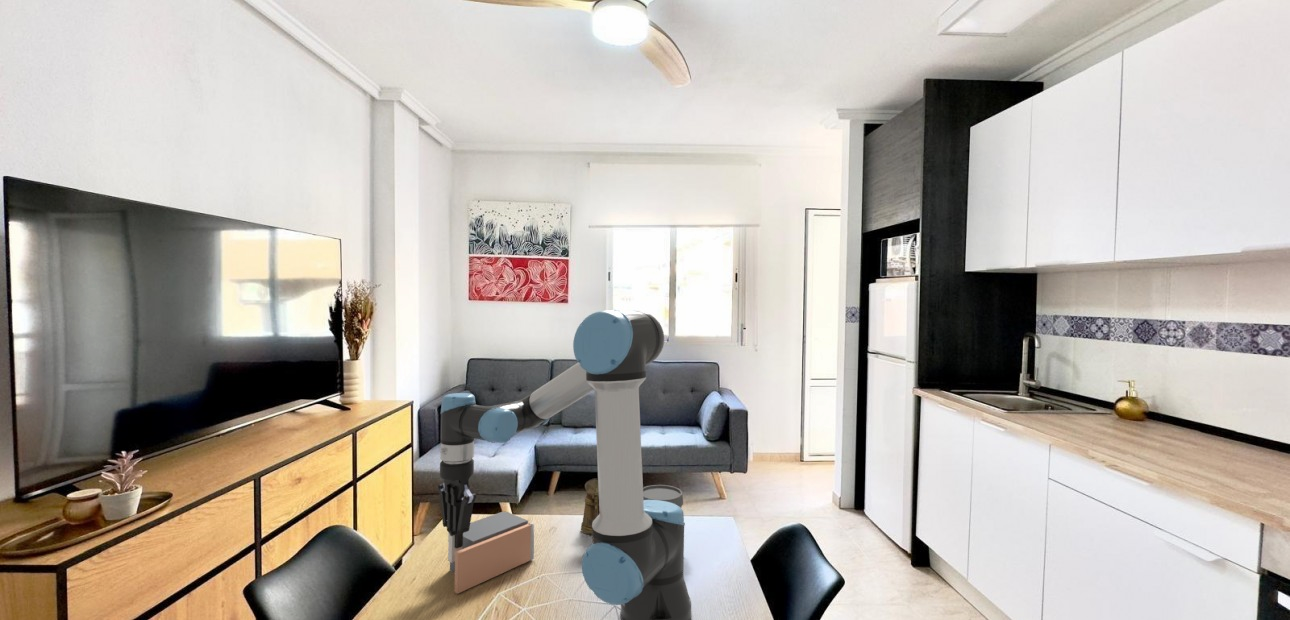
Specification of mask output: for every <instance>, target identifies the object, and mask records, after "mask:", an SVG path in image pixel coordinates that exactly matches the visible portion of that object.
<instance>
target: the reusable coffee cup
mask: <svg viewBox="0 0 1290 620" xmlns="http://www.w3.org/2000/svg"><path fill="white" fill-rule="evenodd" d="M643 500H660V501H666V502H670V503H673V504H676V505H678V506H679V507H680V508H681V509H682V507H683V505H684V497H683V491H682V490H681V489H680V488H678V487H675V486H671V485H667V484H654V485H653V484H652V485H646V486H643Z"/></svg>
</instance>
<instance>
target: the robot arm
mask: <svg viewBox="0 0 1290 620" xmlns="http://www.w3.org/2000/svg"><path fill="white" fill-rule="evenodd" d="M664 344H665V333H664V330H663V327H662V325H661V323H660V322H659V320H658V319H656V318H655V317H654V316H653V315H652V314H649V313H648V312H645V311H640V310H632V311H631V310H623V309H621V310H620V309H608V310H601V311H595V312H593V313H591V314H589V315H587V316H586V317H585V318H583V320H582V322H581V323H580V324H579V325H578V326H577V328H576V331H575V333H574V336H573V343H572V345H573V346H572V347H573V353H574V358H575V360H576V362H577V363H575V364H573V365H572V366H571V367H569V368H568V369H566V370H564V371H563V372H561V373H560V374H559V375H557V376H555V377H554V378H552V379H551V380H549V381H547V382H546V383H545V384H543V385H542V386H540V387H539V388H537V389H535V390H534V391H533V392H531V393H530V394H528V395H527V396H525V397H524V398H522V399H519V400H514V401H511V402H506V403H500V404H495V405H490V406H489V405H479V404H476V403H477V402H476V397H475V395H474V394H473V393H469V392H454V393H448V394H446V395H444V396H443V397H442V399H441V406H440V407H441V408H440V449H439V453H440V454H439V455H440V456H439V457H440V460H441V461H440V463H439V477H440V479H442V480H443V483H441V484H438V485H437V489H438V493H439V500H440V501H439V502H440V510H441V520H442V527H444V528H445V527H446V532H448V539H447V541H448V542H447V543H448V548H447V549H448V553H447V554H448V556H447V560H448V562H449V563H450V562H451V563H452V562H455V552H457V551H459V550H462V545H463V533H464V532H467V531H469V528H470V523H471V522H472V521H471V520H472V516H473V515H472V514H473V511H474V510H473V509H474V502H475V500H476V499H477V494H476V493H472V492H471V490H470V487H471V485H470V478H471V477H472V476H473V475H474V470H475V469H474V468H475V467H474V466H475V461H474V459H473V458H474V457H475V439H476V440H481V441H486V442H487V443H493V444H494V443H499V444H502V443H506V442H509V441H510V440H511V439H512V438H513V437H514V436H515V435H516V434H518V433H521V432H525V431H529V430H535V429H539V427H542V426H545V425H546V424H547V423H548V422H549V421H550V419H551V418H552V417H553V416H555V415H557V414H558V413H560V412H562V411H563V410H565V409H567V408H568V407H570V406H571V405H573V404H575V403H577V401H579V400H581V399H582V398H584V397H586V396H588V395H589V394H591V393H593V392H594V408H595V432H596V433H595V435H596V456H597V458H596V459H597V479H598V487H599V511H600V513H599V515H598V516H597V517H596V519H595V520H594V521H593V522H592V535H591V536H592V544H591V545H589V546H588V547H587V549H586V550H585V552H584V553H583V556H582V559H581V573H582V576H583V579H584V581H585V583H586V585H587V587H588V589H589V590H591V591H592V592H593V594H594V596H595V597H597V598H598V599H600V600H601V601H602V602H604V603H607V604H609V605H614V606H620V615H621V617H623V618H622V619H623V620H691V617H692V600H691V597H690V595H689V592H688V591H689V590H688V587H687V585H686V581H685V577H684V576H685V575H684V567H685V566H684V565H685V564H684V560H685V557H684V555H685V554H684V553H685V552H684V551H685V525H686V523H685V514H684V510H683V509H682V508H680V507H679V506H678V505H676V504H673V503H670V502H666V501H660V500H643V487H644V484H643V482H644V481H643V461H642V459H643V458H642V440H641V439H642V436H641V433H642V432H641V413H640V411H641V410H640V408H641V407H640V386H641V385H642V384H643V383H644V381H646V379H647V374H646V373H647V371H646V369H647V368H646V366H647V365H648V364H651V363H652V362H654V361H655V360H656V359H657V358H658V357H659V356H660V354H661V352H662V351H663V349H664V346H665V345H664Z"/></svg>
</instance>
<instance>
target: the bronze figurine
mask: <svg viewBox="0 0 1290 620" xmlns="http://www.w3.org/2000/svg"><path fill="white" fill-rule="evenodd" d="M584 489H585V491H586V493H585V494H586V495H585V496H584V497H585V498H584V503H585V504H584V509H583V510H584V511H583V516H582V522H581V526H580V531H581V532H582V533H583V534H585V535H589V536H592V522H593V521H594V520H595V519H596V517H597V516H598V515H599V513H600V511H599V487H598V477H597V478H596V477H593V478H592V479H589V480H587V481H585V484H584Z"/></svg>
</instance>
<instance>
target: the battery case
mask: <svg viewBox="0 0 1290 620" xmlns="http://www.w3.org/2000/svg"><path fill="white" fill-rule="evenodd" d="M528 523H529V520H528V519H525V518H522V517H521V516H518V515H515V514H514V513H511V512H508V511H506V510H503V511H501V512H498V513H495V514H492V515H488V516H486V517H483V518H481V519H478V520H474V521H471V522H470V528H469V531H467V532H464V533H463V545H462V549H464V548H467V547H469V546H472V545H475V544H477V543H480V542H482V541H485V540H487V539H490V538H493V537H495V536H498V535H500V534H503V533H506V532H508V531H511V530H513V529H516V528H518V527H521V526H524V525H526V524H528ZM449 571H450V572H452V573H454V574H455V562H452V563H451V562H449Z"/></svg>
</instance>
